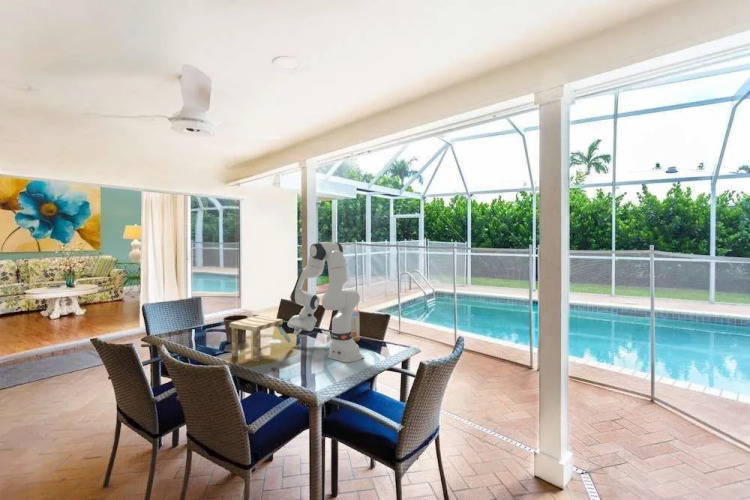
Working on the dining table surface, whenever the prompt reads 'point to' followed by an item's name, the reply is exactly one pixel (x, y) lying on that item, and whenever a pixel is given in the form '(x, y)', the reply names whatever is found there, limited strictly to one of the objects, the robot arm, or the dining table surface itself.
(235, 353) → the stool
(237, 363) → the dining table surface
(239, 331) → the plant pot
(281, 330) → the folding leg
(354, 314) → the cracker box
